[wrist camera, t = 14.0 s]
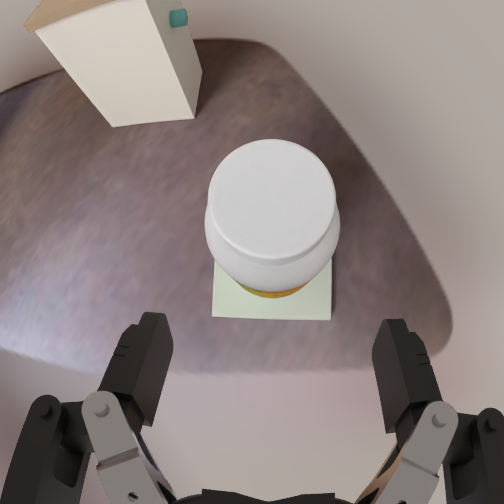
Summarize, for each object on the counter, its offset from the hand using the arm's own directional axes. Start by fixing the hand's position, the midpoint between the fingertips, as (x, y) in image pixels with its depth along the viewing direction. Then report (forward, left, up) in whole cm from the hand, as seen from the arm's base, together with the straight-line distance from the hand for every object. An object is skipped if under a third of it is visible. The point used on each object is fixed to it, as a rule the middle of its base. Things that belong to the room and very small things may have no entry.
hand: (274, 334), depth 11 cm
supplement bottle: (0, +4, -7) cm, 8 cm away
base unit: (-10, +17, -8) cm, 21 cm away
